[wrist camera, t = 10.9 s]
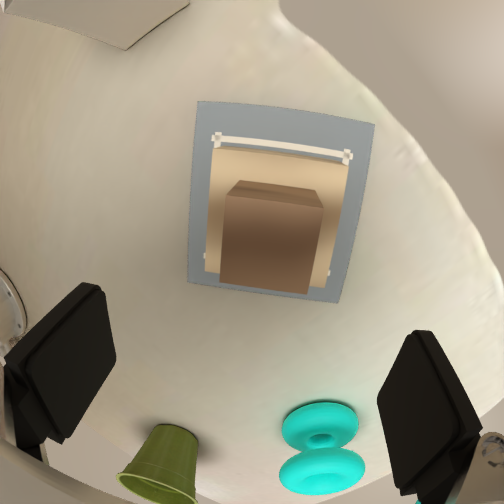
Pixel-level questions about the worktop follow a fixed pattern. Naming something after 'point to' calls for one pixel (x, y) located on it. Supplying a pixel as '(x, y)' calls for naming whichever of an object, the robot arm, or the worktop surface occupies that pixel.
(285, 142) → the board
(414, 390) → the robot arm
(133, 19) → the milk carton
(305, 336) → the worktop surface
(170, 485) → the plant pot
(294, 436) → the donuts
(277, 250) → the walnut block
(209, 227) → the maple slab
